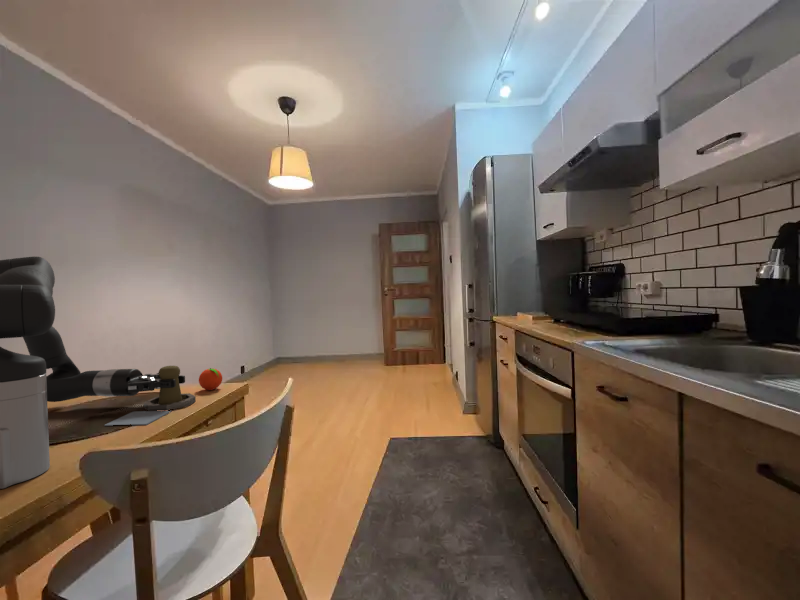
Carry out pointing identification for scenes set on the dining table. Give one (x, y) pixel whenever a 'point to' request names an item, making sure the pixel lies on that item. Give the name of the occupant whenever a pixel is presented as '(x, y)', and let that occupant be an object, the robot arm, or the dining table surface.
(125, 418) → the rubber mat
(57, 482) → the dining table surface
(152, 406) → the dark grey flat ring
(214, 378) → the clementine
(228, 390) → the dining table surface
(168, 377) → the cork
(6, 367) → the robot arm
